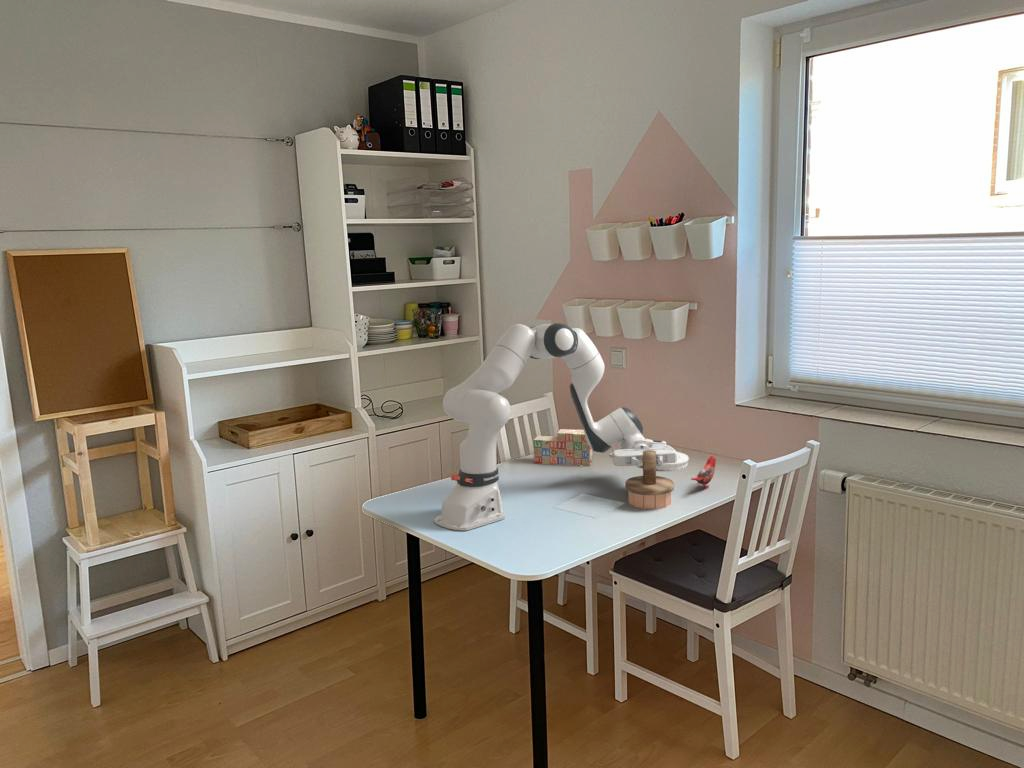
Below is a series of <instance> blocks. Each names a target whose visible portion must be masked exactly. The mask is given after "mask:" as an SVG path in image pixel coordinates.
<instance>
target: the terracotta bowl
mask: <svg viewBox="0 0 1024 768" xmlns="http://www.w3.org/2000/svg"><path fill="white" fill-rule="evenodd" d="M627 492H628V504H630V505H631V506H632V507H634V508H637V509H638V508H639V509H643V510H646V509H647V510H658V509H663V508H667V507H669V506H670V505H672V492H670V493H667V494H662V495H640V494H635V493H632V492H629V491H628V490H627Z"/></svg>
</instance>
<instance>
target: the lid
mask: <svg viewBox="0 0 1024 768" xmlns="http://www.w3.org/2000/svg"><path fill="white" fill-rule="evenodd" d="M676 452H677V462H676V463H667V464H662V466H657V465H656V469H658V470H657V471H661V470H672V471H678V470H677V469H679V470H682V469H681V468H683V469H685V468H686V466H688V465H689V460H690V457H689V455H688V454H686V453H683V452H681V451H676ZM684 467H685V468H684Z"/></svg>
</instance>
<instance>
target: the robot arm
mask: <svg viewBox="0 0 1024 768" xmlns="http://www.w3.org/2000/svg"><path fill="white" fill-rule="evenodd" d="M490 350H491V351H490V352H489V353H488V355H487V356H486V358H485V359H484V360H483V362H482V364H481V365H480V366H479V367H478V368H477V369H476V370H474V372H473V373H472V374H471V375H470V376H468V377H467V378H466V379H465V380H463V381H462V382H461V383H459V384H458V385H456V386H453V387H452V388H450V389H448V390H447V391H446V393H445V394H444V396H443V399H442V407H443V411H444V412H445V414H446V415H448V416H449V417H450V418H452V419H453V420H455V421H457V422H460V423H464V424H467V425H468V430H467V435H466V438H464V439H463V440H462V441H461V442H460V444H459V458H460V459H459V461H460V469H459V472H458V474H456V473H451V475H450V480H451V481H454V482H456V484H455V485H454V487H453V488H452V490H450V492H449V493H448V495H447V496H446V497H445V498H444V500H443V501H442V504H441V513H440V514H439V515H437V516H436V517H434V519H433V522H434V523H435V524H436V525H438V526H439V527H443V528H445V529H449V530H454V531H466V532H467V531H471V530H473V529H475V528H476V529H477V528H479V527H483V526H485V525H489V524H492V523H495V522H498V521H501V520H504V519H505V518H506V516H505V510H504V507H503V503H502V497H501V492H500V487H499V482H498V481H499V479H500V477H499V474H500V472H499V467H497V465H498V463H497V462H498V461H497V444H498V443H497V442H498V438H499V436H500V435H499V434H500V432H501V430H502V428H504V426H505V425H506V424H507V423H508V421H509V420H510V417H511V411H512V410H511V409H512V407H511V404H510V402H509V400H508V399H507V398H506V397H504V396H503V395H501V394H499V393H500V392H503V391H505V390H507V389H508V388H510V387H511V386H512V385H513V384H514V382H515V381H516V380H517V378H518V376H519V374H520V373H521V371H522V369H523V368H524V367H525V365H526V364H527V361H528V360H529V358H531V359H534V360H540V359H542V360H543V359H544V360H549V359H550V360H551V359H556V358H562V359H563V360H564V361H565V364H566V366H567V367H568V370H569V372H570V374H571V383H570V385H569V393H570V396H571V399H572V401H573V404H574V407H575V410H576V413H577V416H578V418H579V421H580V423H581V425H582V426H581V427H582V428H583V429H582V430H584V432H585V438H586V441H587V443H588V445H589V447H590V448H591V449H592V450H593V452H596V453H601V454H602V453H603V454H604V453H606V452H607V451H608V450H611V448H612V447H613V446H615V445H617V444H618V446H619V448H620V449H614V450H613V452H610V453H609V457H610V458H611V459H612V462H613V465H614V466H616V467H630V466H636V467H637V468H640V467H642V468H643V451H646V450H653V451H656V465H657V466H662V464H667V463H676V462H677V452H678V451H677V450H675V448H673V447H672V446H671V445H668V444H667V442H666V441H665V440H656V439H655V440H654V439H649V438H645V437H644V435H643V433H644V426H643V425H642V422H641V421H640V419H639V417H638V416H637V415H636V414H635V413H634V411H632V410H631V408H627V407H623V406H620V407H619V408H617V409H616V410H614V411H612V412H611V413H609V414H608V415H605V416H604V417H603V418H601V419H599V420H598V421H594V419H593V416H592V413H591V410H590V408H589V405H588V400H589V397H590V395H591V393H592V392H593V390H594V389H595V388H596V387H597V385H598V384H599V383H600V382H601V380H602V379H603V376H604V374H605V368H606V367H605V363H604V360H603V358H602V355H601V354H600V352H599V351H598V348H597V347H596V345H595V344H594V343H593V341H592V340H591V338H590V337H589V336H588V334H586V332H585V331H584V330H583V329H581V328H579V327H570V326H568V325H567V324H565V323H562V322H561V323H558V322H554V323H543V324H539V325H536V326H531V327H529V326H527V325H525V324H522V323H514V324H513V325H511V326H510V327H509V328H508V329H507V330H506V331H505V332H504V333H503V334H502V335H501V336H500V338H499V339H498V340H497V342H496V343H495V345H494V346H493V347H492V349H490Z"/></svg>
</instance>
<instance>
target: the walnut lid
mask: <svg viewBox="0 0 1024 768" xmlns="http://www.w3.org/2000/svg"><path fill="white" fill-rule="evenodd" d="M624 485H625V486H624V487H625V490H627V492H628V491H629V492H632V493H635V494H640V495H662V494H667V493H670V492H671V493H672V492H673V491H674V490H675V482H674V481H673V480H672V479H670V478H668V477H664V476H658V475H657V470H656V451H653V450H646V451H643V466H642V475H638V476H633V477H629V478H628V479H626V480H625V482H624Z"/></svg>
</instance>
